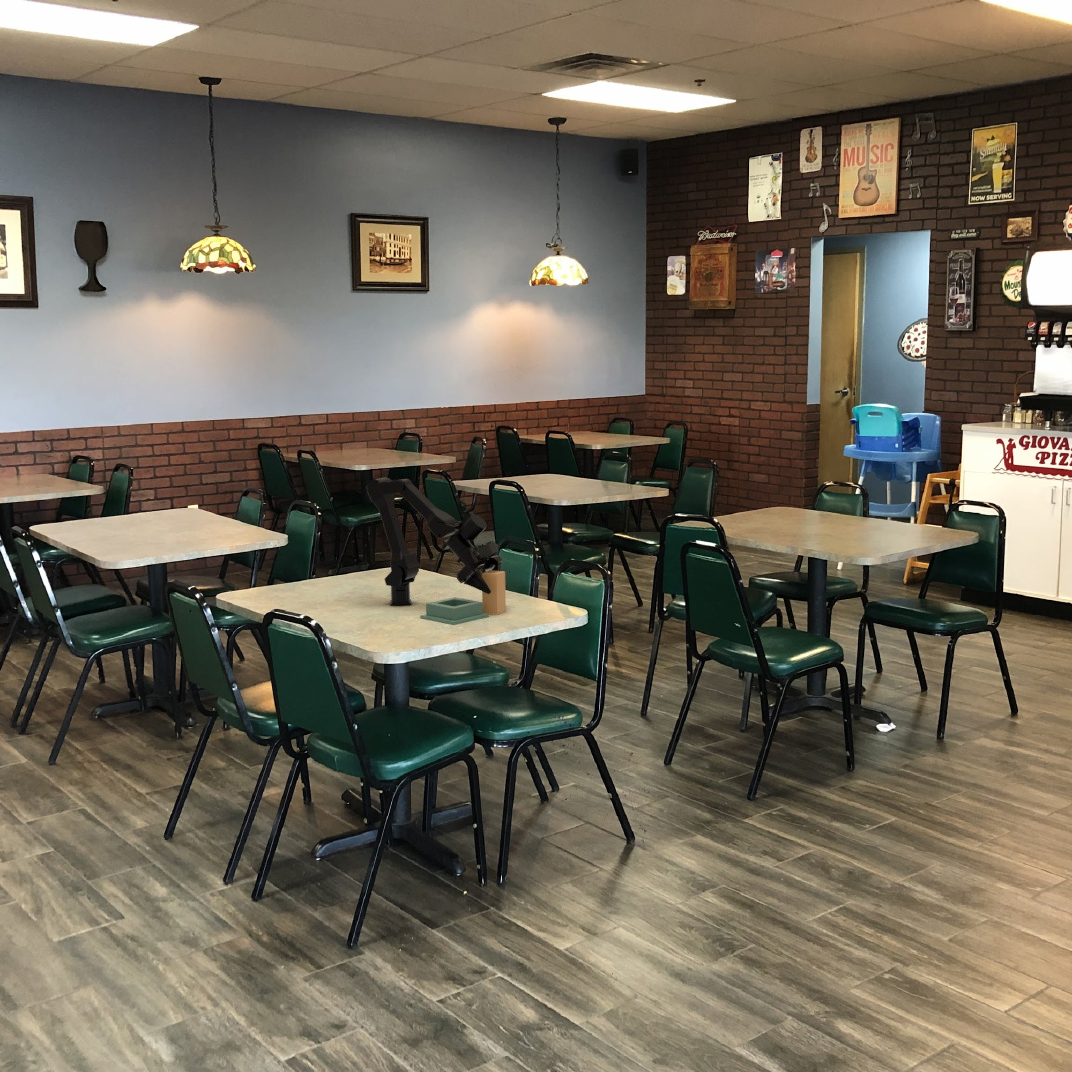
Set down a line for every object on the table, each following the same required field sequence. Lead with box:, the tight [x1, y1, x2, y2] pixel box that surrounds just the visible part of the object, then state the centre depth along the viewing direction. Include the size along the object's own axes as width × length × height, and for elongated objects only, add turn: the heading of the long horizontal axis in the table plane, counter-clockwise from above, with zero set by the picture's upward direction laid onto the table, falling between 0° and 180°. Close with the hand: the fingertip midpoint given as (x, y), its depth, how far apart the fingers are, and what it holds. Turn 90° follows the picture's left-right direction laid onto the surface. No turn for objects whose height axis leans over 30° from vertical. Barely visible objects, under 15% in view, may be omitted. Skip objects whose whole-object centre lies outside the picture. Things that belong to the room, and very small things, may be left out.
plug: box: [481, 570, 507, 616], centre depth 356 cm, size 5×5×12 cm
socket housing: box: [419, 597, 490, 626], centre depth 350 cm, size 14×14×4 cm
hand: (497, 590), depth 355 cm, fingers open, 9 cm apart
